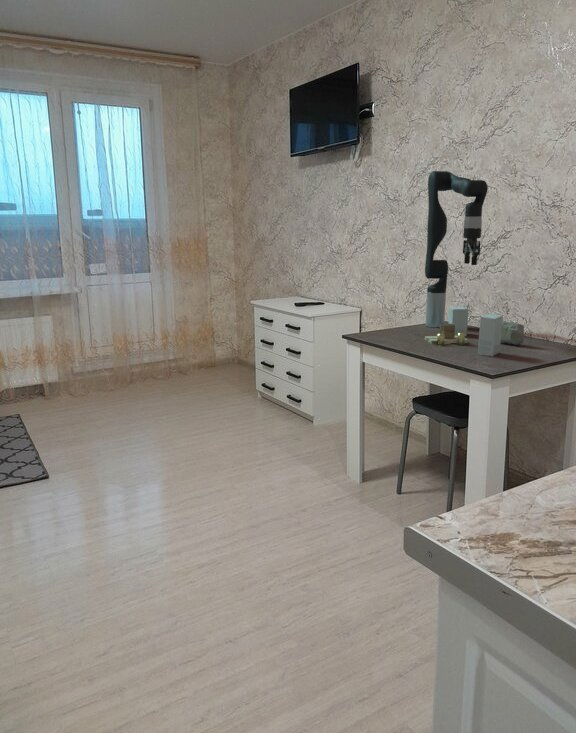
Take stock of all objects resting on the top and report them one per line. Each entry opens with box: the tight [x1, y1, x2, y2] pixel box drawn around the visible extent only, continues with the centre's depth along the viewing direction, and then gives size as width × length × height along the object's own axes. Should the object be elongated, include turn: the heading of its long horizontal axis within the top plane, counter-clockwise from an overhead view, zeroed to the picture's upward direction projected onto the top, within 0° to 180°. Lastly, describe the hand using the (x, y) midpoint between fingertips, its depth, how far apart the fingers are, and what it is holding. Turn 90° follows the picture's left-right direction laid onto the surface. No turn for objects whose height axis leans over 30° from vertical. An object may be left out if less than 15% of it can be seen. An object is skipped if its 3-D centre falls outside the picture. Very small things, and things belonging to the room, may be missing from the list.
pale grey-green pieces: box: [424, 335, 469, 345], centre depth 266 cm, size 10×16×2 cm, turn 95°
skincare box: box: [477, 313, 504, 357], centre depth 239 cm, size 8×7×16 cm
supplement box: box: [447, 306, 469, 337], centre depth 280 cm, size 7×7×13 cm
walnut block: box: [439, 323, 455, 339], centre depth 264 cm, size 5×5×6 cm
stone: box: [500, 320, 525, 346], centre depth 257 cm, size 14×6×10 cm, turn 30°
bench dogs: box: [436, 332, 466, 346], centre depth 258 cm, size 3×12×5 cm, turn 95°
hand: (470, 264), depth 268 cm, fingers open, 8 cm apart
